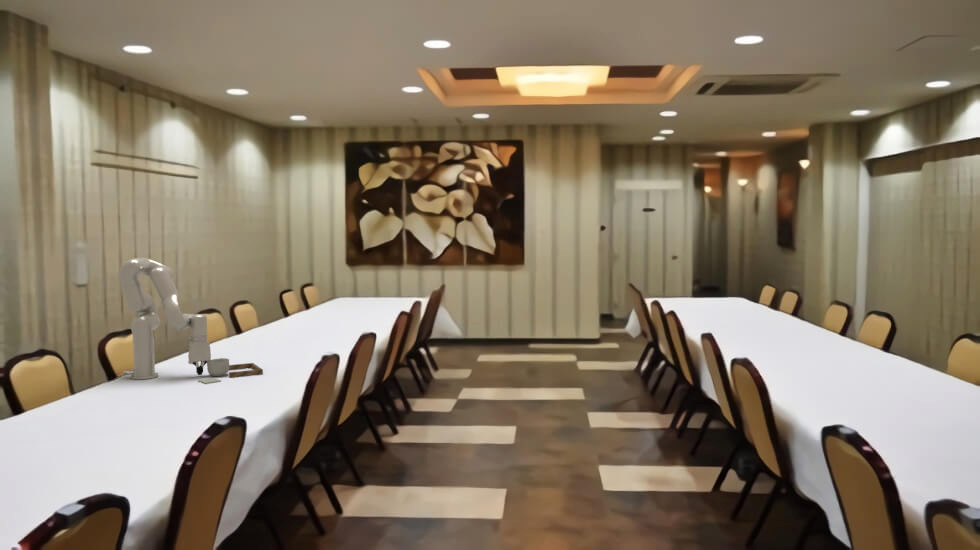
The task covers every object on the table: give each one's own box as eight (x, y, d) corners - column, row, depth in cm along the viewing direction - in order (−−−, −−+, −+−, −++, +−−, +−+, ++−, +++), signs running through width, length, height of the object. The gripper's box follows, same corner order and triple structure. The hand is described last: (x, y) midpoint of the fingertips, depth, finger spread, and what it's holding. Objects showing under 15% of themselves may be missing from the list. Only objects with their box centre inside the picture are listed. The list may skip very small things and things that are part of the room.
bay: (229, 377, 358) (229, 372, 358) (221, 370, 375) (221, 365, 374) (262, 374, 367) (262, 369, 366) (252, 367, 383) (252, 362, 383)
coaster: (205, 385, 343) (205, 382, 343) (197, 382, 348) (197, 380, 348) (221, 382, 349) (221, 380, 349) (213, 380, 354) (213, 377, 354)
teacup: (224, 377, 357) (224, 362, 357) (203, 377, 358) (203, 361, 357) (235, 372, 371) (234, 357, 371) (214, 371, 372) (214, 356, 371)
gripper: (184, 340, 351) (185, 377, 352) (216, 338, 359) (216, 374, 360) (182, 338, 357) (182, 374, 359) (213, 336, 365) (213, 371, 367)
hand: (199, 374), depth 359 cm, fingers closed
